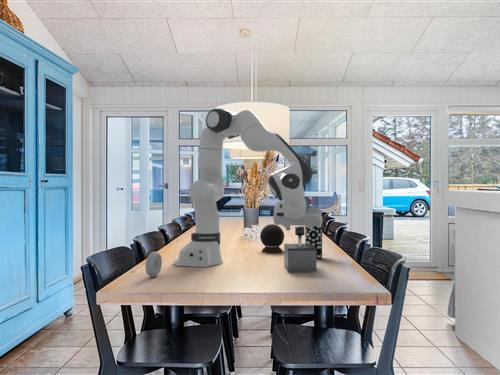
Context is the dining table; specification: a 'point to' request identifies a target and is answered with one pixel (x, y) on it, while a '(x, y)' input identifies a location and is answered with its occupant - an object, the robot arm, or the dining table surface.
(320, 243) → the spotted tube
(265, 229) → the black ball on stand
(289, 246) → the block
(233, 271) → the dining table surface
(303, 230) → the plunger
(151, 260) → the grey thick disc
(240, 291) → the dining table surface
